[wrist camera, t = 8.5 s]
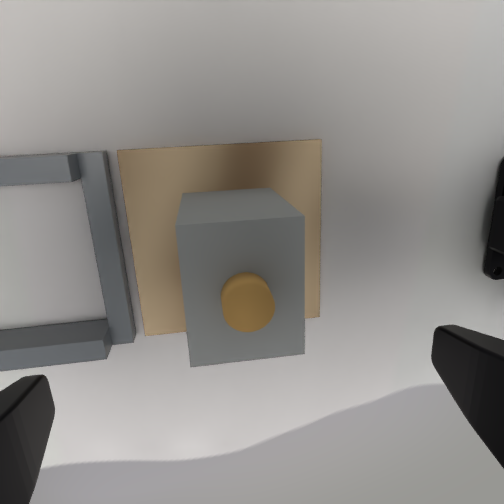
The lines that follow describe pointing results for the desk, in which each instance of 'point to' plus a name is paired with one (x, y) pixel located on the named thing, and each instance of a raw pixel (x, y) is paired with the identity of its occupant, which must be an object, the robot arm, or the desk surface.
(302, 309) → the cable plug
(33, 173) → the grey square frame
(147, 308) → the cork pad
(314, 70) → the desk surface
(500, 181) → the robot arm
